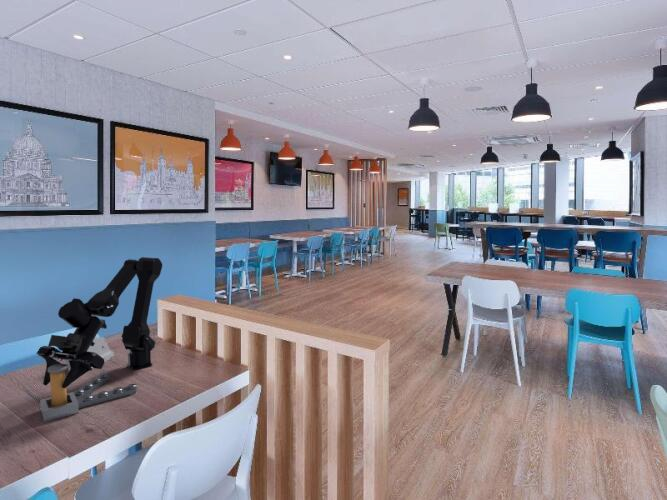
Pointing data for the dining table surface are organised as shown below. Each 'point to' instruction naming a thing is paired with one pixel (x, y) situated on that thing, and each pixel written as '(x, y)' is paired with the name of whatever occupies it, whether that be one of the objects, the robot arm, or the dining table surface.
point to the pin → (58, 384)
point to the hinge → (97, 350)
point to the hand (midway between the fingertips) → (53, 386)
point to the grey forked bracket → (84, 398)
